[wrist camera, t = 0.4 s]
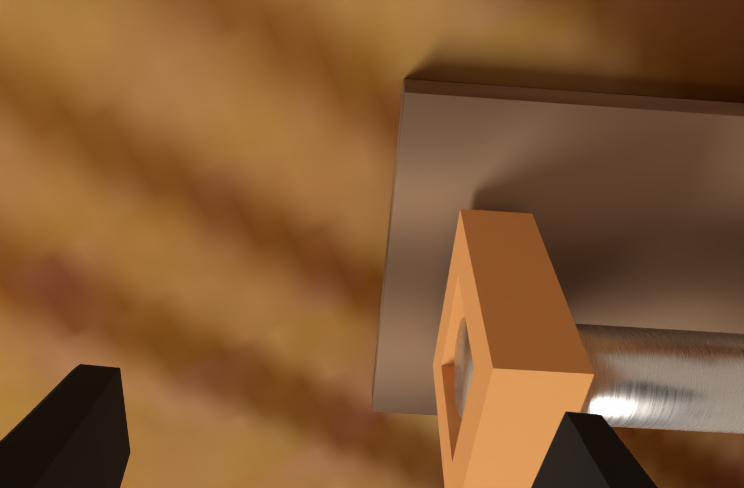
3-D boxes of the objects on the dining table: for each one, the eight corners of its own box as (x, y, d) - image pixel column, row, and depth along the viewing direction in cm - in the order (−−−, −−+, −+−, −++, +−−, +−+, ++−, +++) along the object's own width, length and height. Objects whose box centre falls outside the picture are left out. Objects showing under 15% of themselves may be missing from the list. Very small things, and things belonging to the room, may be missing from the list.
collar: (493, 368, 20) (529, 543, 16) (432, 365, 20) (449, 540, 15) (532, 213, 17) (594, 374, 12) (460, 208, 17) (493, 368, 12)
